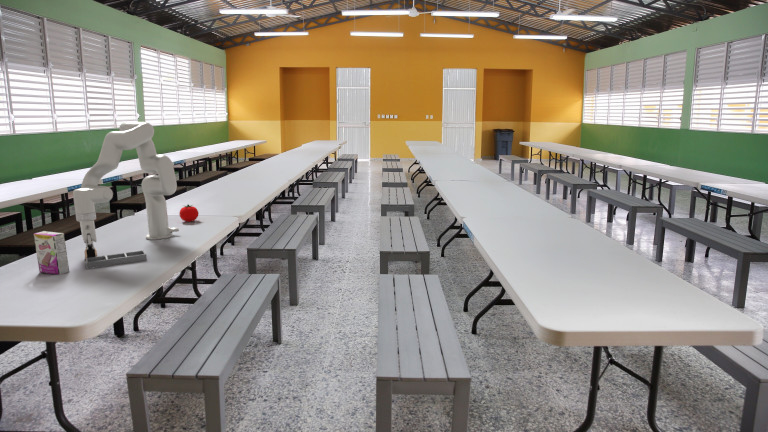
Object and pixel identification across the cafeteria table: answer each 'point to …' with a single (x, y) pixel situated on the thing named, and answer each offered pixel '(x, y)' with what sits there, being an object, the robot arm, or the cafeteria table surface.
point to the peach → (86, 253)
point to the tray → (115, 259)
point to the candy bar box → (51, 252)
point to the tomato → (188, 213)
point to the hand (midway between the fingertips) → (91, 256)
